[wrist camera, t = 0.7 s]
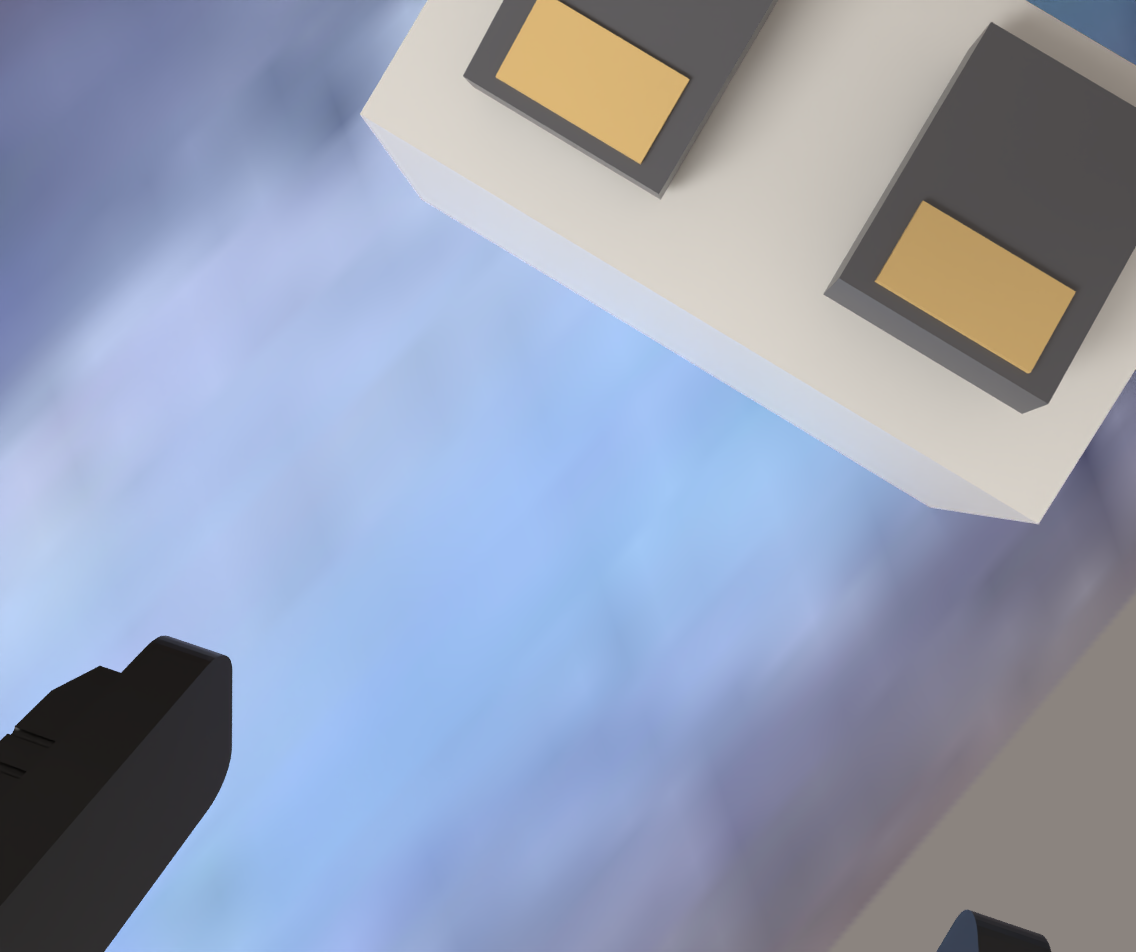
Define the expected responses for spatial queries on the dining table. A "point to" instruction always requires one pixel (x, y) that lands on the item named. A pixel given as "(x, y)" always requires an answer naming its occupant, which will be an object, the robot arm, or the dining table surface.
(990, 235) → the rocker outer
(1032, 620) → the dining table surface
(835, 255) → the switch box
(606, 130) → the block
